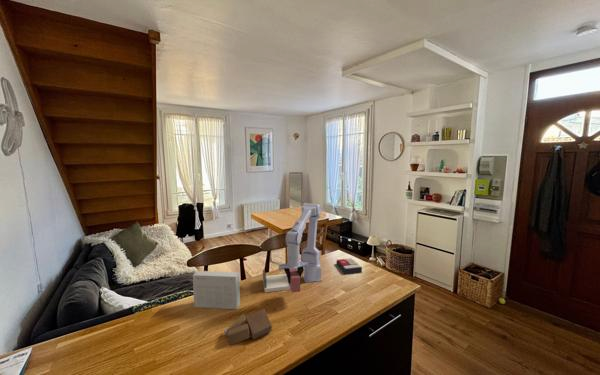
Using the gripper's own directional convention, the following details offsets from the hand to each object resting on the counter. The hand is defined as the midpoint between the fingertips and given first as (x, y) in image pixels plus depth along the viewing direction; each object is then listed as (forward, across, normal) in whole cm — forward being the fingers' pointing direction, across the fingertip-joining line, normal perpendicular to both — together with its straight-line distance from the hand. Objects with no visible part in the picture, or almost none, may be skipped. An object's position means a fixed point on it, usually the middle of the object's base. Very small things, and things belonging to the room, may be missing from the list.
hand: (293, 281), depth 122 cm
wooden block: (+10, -23, -18) cm, 31 cm away
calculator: (+10, +41, +26) cm, 49 cm away
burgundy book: (+2, 0, 0) cm, 2 cm away
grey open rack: (+9, -4, +16) cm, 19 cm away
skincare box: (+9, -36, +4) cm, 38 cm away
